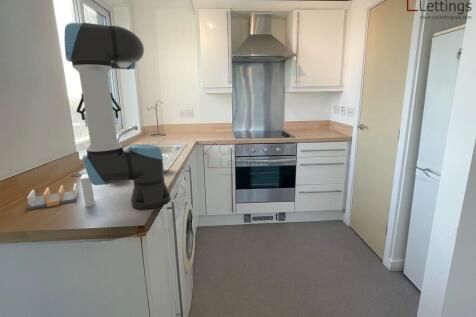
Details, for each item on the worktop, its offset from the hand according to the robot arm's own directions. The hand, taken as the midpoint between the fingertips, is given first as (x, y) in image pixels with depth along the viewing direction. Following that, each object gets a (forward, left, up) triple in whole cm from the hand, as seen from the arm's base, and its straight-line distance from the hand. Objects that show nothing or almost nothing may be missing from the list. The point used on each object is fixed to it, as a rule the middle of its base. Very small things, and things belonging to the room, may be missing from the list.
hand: (101, 125), depth 134 cm
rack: (-25, +22, -28) cm, 43 cm away
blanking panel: (-37, +9, -28) cm, 47 cm away
